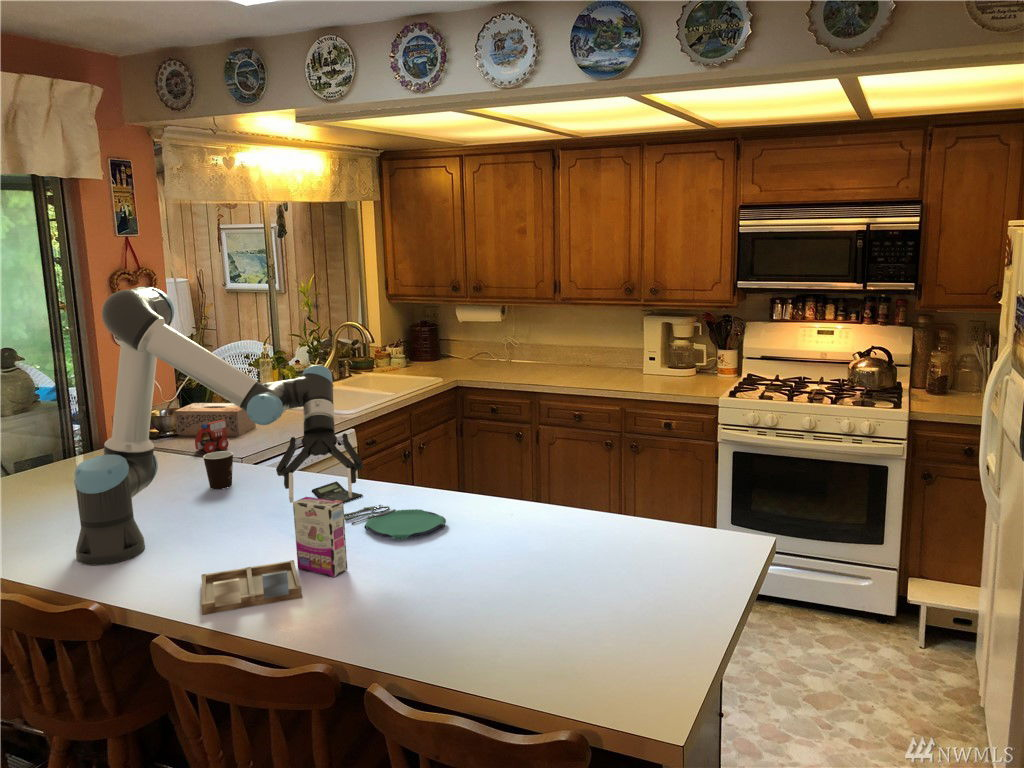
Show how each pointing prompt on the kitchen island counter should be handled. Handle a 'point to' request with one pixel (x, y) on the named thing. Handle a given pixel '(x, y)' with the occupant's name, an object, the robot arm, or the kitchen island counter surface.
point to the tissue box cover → (212, 418)
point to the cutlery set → (399, 522)
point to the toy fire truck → (212, 436)
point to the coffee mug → (219, 469)
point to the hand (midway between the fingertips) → (320, 497)
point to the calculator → (334, 493)
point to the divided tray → (249, 587)
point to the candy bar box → (320, 536)
